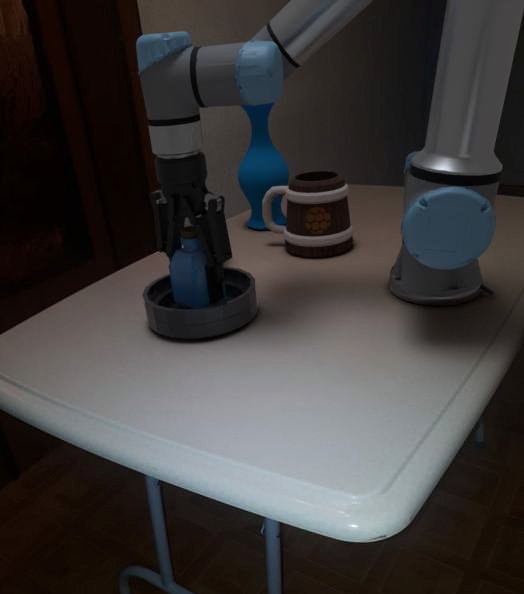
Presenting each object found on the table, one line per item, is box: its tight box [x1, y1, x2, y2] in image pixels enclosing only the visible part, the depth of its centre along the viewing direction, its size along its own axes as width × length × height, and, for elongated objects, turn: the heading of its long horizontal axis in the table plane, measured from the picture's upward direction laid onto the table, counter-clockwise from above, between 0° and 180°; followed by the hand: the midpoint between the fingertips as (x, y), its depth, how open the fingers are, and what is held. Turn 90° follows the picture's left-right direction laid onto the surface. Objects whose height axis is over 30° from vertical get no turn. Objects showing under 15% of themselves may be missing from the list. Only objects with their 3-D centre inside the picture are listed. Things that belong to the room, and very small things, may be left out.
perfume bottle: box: [167, 226, 226, 309], centre depth 90 cm, size 6×6×12 cm
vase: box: [237, 102, 290, 230], centre depth 131 cm, size 12×13×28 cm
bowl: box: [141, 265, 259, 340], centre depth 93 cm, size 19×19×6 cm
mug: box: [262, 170, 355, 258], centre depth 117 cm, size 20×15×15 cm
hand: (200, 296), depth 93 cm, fingers closed on perfume bottle, 7 cm apart
